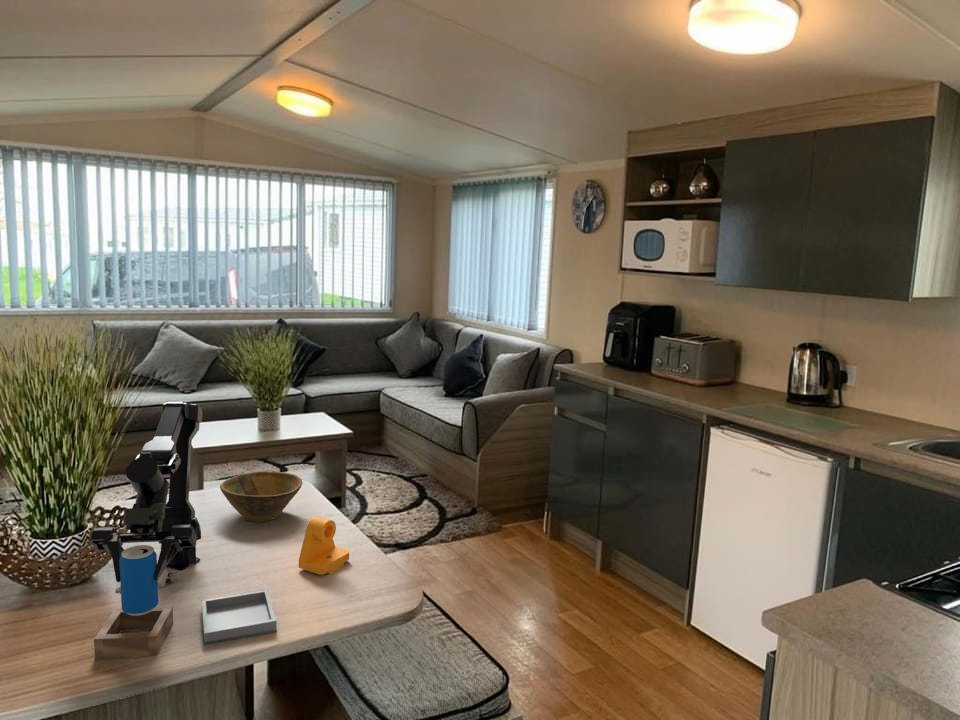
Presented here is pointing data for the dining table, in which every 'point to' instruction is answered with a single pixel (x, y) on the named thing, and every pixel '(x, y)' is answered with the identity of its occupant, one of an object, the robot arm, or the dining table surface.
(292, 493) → the bowl
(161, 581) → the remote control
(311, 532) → the bracket
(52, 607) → the dining table surface
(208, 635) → the tray
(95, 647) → the socket block
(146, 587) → the beverage can
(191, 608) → the dining table surface
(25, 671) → the dining table surface
